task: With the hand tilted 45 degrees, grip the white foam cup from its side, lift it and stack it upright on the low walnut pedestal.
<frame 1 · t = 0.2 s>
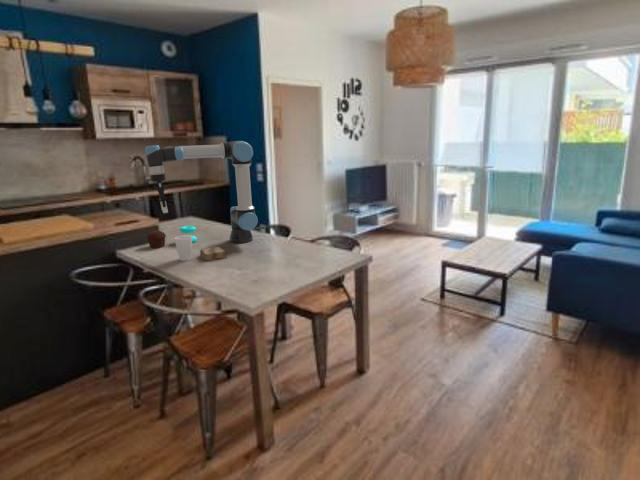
hand: (164, 211, 233), 27 cm above the table, tool pointing down, fingers open, 13 cm apart
pedestal: (213, 256, 239), on the table
muffin: (157, 246, 262), on the table
donuts: (189, 241, 273), on the table
foam cup: (185, 259, 236), on the table
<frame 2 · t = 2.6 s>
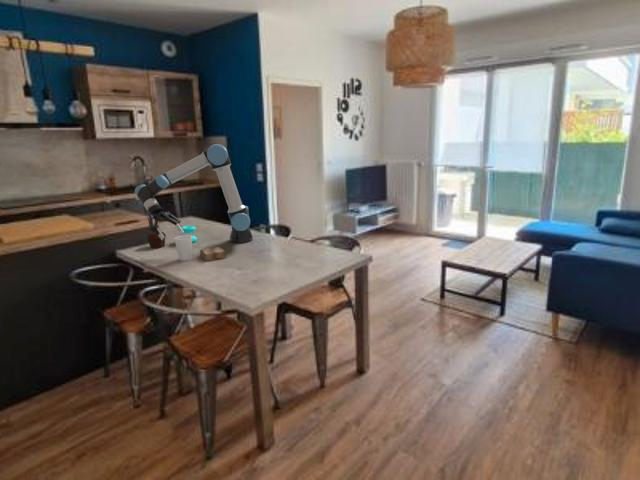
hand: (173, 235, 236), 13 cm above the table, tool tilted 45°, fingers open, 13 cm apart
nothing on the table moved.
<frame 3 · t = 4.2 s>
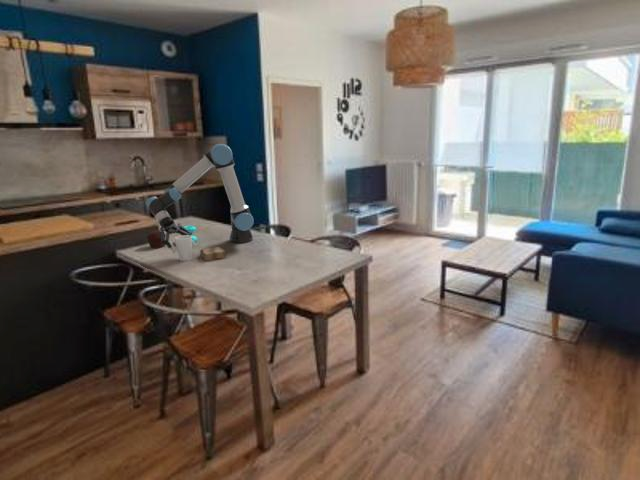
hand: (184, 248, 233), 6 cm above the table, tool tilted 45°, fingers open, 13 cm apart
nothing on the table moved.
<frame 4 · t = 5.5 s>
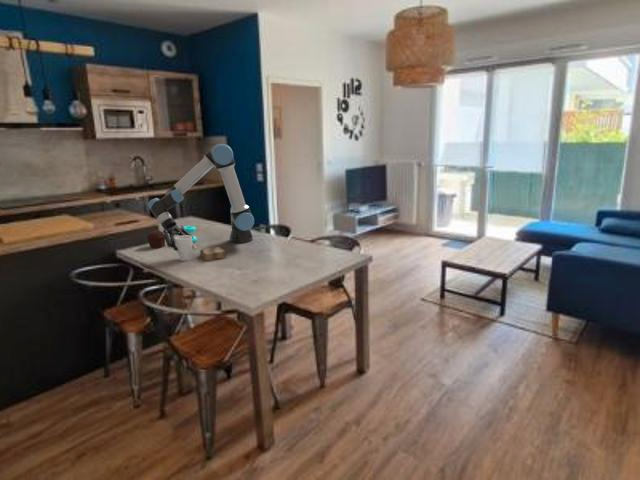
hand: (188, 251, 233), 5 cm above the table, tool tilted 45°, fingers closed on foam cup, 9 cm apart
foam cup: (185, 259, 236), on the table, touching gripper
everything else where it was.
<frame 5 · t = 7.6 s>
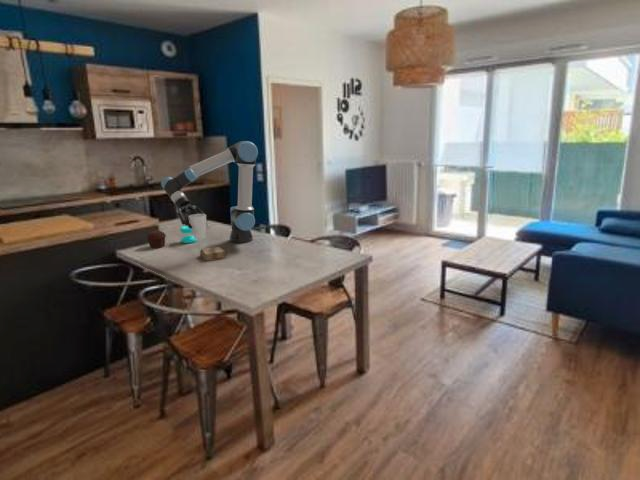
hand: (202, 230, 232), 17 cm above the table, tool tilted 45°, fingers closed on foam cup, 9 cm apart
foam cup: (199, 238, 235), point 12 cm above the table, touching gripper
everything else where it was.
when the fingers open (10 cm above the table, at t = 9.8 s): foam cup drops 1 cm, resting on pedestal.
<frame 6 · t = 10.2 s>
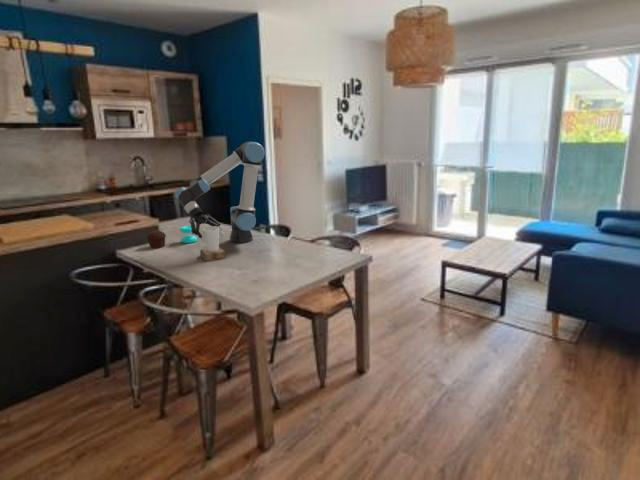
hand: (214, 238, 235), 11 cm above the table, tool tilted 45°, fingers open, 13 cm apart
foam cup: (213, 250, 238), point 4 cm above the table, touching pedestal
everything else where it was.
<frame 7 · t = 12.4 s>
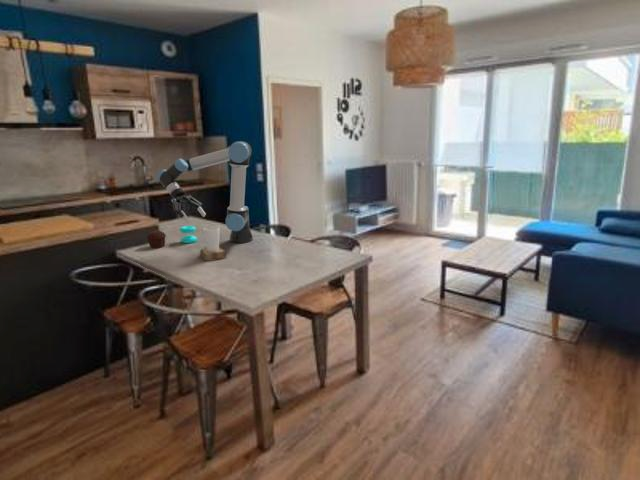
hand: (196, 217, 244), 21 cm above the table, tool tilted 45°, fingers open, 13 cm apart
nothing on the table moved.
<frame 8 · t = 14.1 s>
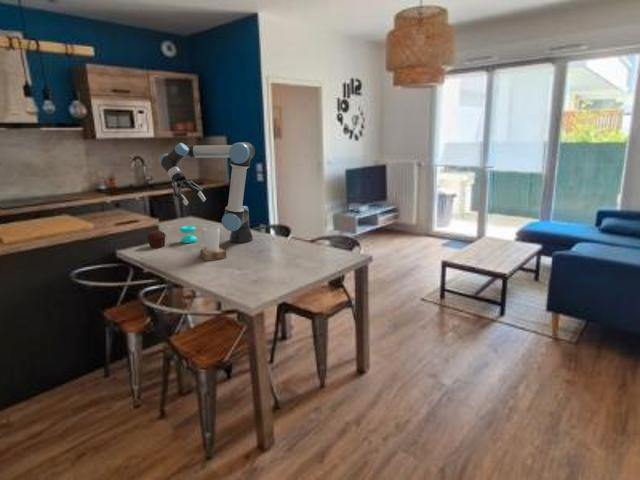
hand: (196, 202, 246), 30 cm above the table, tool tilted 45°, fingers open, 13 cm apart
nothing on the table moved.
at the end: foam cup inside the target area on the pedestal (0.2 cm from its centre), point 3.8 cm above the pedestal's base; foam cup tilted 0°; the gripper is holding nothing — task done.
